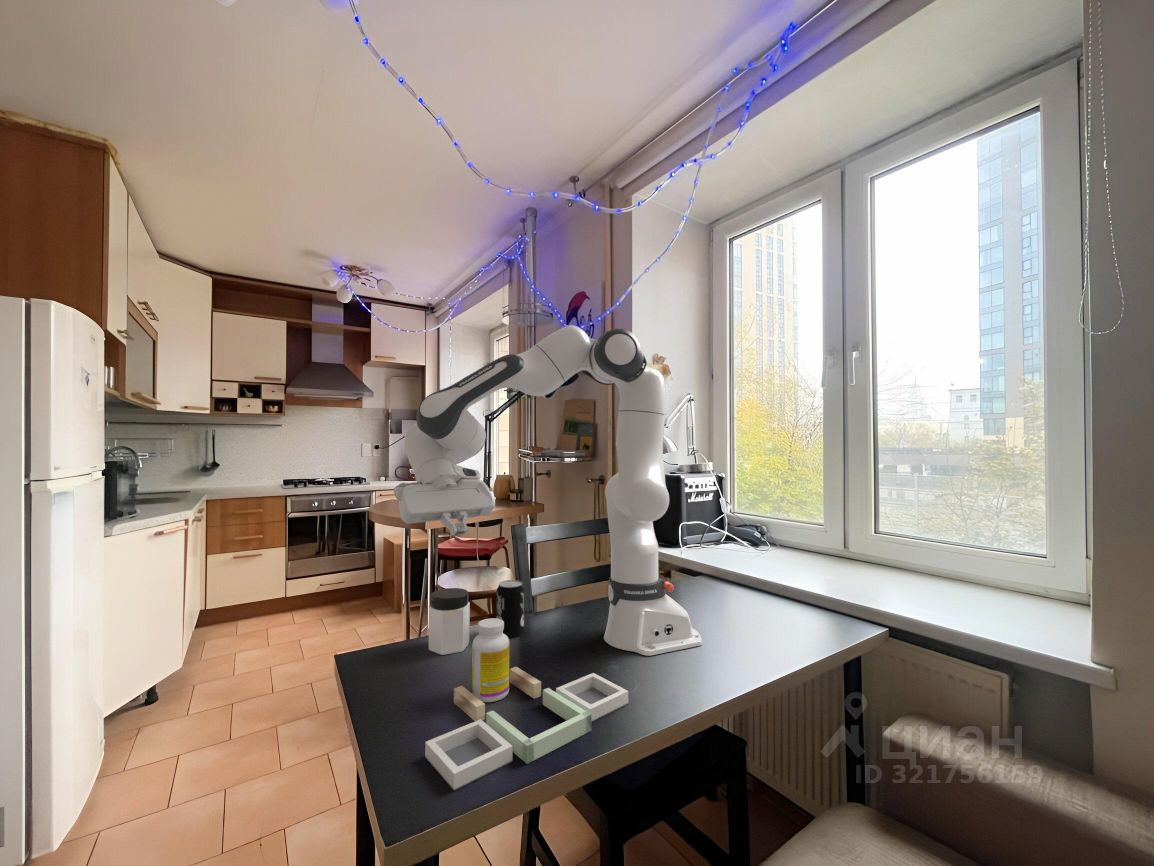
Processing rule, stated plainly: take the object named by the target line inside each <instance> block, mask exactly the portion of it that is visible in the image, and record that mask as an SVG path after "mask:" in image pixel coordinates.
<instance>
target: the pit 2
mask: <svg viewBox="0 0 1154 866" xmlns="http://www.w3.org/2000/svg"><path fill="white" fill-rule="evenodd" d="M555 692H556V693H558V694H559V695H561V696H562V697H564V698H566V699H567V700H569V701H571V702H572V703H574V704H575V705H577V706H579V707H580V708H582V709H583V710H585V711H587V712H588V713H590V714H592V723H594V722H595V721H598V720H600V719H601V718H603V717H606V716H607V715H610V714H611V713H613V712H615V711H617V710H619V709H621V708H623V707H625V706H626V705H629V690H627V689H625V688H623V687H621V686H619V685H617V684H615V683H613V682H611V681H609V680H608V679H606V678H604V677H602V676H600V675H598V674H597V673H594V672H592V673H590V674H587V675H584V676H582V677H580V678H577V679H576V680H572V681H570V682H568V683H566V684H562V685H561V686H558V687H555Z"/></svg>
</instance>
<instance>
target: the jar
mask: <svg viewBox="0 0 1154 866" xmlns="http://www.w3.org/2000/svg"><path fill="white" fill-rule="evenodd" d="M470 604H471V603H470V601H469V591H468V590H467V589H464V588H459V587H448V588H441V589H438V590H435V591H433V592H432V593H431V595H430V606H429V607H428V650H429V651H430V652H433V653H436V654H438V655H441V656H445V655H451V654H457V653H462V652H464V650H466V648H467V647H468V646H469V644H470V624H471V623H470V621H471V620H470V618H471V616H470V614H471V613H470V611H471V610H470V609H471V608H470Z"/></svg>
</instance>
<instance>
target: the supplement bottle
mask: <svg viewBox="0 0 1154 866" xmlns="http://www.w3.org/2000/svg"><path fill="white" fill-rule="evenodd" d="M503 629H504V621H503V620H501V619H496V618H494V617H493V618H492V617H491V618H484V619H482V620H479V621H478V623H477V631H478V634H477V635H476V636H475V637H474V639H473V641H472V647H471V648H472V649H471V650H472V651H471V652H472V654H471V658H472V659H471V661H472V663H471V665H472V667H471V693H472V694H473V695H474V696H476V697H477V698H478V699H479V700H481V701H482V702H483V703H493V702H498V701H500V700H503V699H504V698H506V696H507V695H508V694H509V691H510V639H509V638H508V637H507V636H506V635H505V634H503Z"/></svg>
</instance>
